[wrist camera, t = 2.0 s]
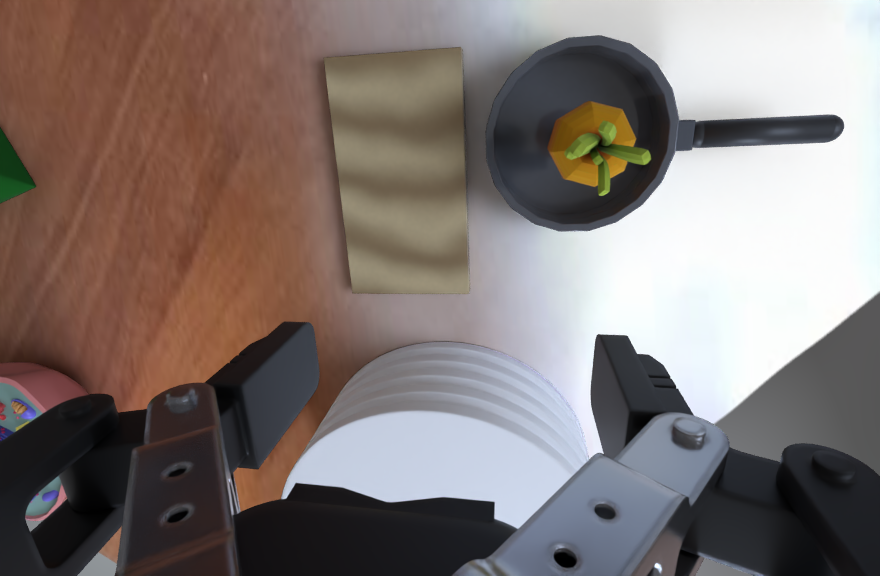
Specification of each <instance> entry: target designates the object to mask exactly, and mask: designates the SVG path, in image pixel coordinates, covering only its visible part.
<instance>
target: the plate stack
mask: <svg viewBox="0 0 880 576" xmlns="http://www.w3.org/2000/svg"><path fill="white" fill-rule="evenodd" d="M588 460H589V455H588V451H587V446H586V442H585V438H584V434H583V431H582V428H581V426H580V423H579V421H578V419H577V417H576V415H575V413H574V411H573V410H572V408H571V407H570V405H569V404H568V402H567V401H566V400H565V398H564V397H563V396H562V395H561V393H560V392H559V391H558V390H557V389H556V388H555V387H554V386H553V385H552V384H551V383H550V382H549V381H548V380H547V379H545V378H544V377H543V376H542V375H540V374H539V373H538V372H536V371H535V370H534V369H532V368H531V367H529V366H527V365H526V364H524V363H522V362H521V361H519V360H517V359H515V358H513V357H510V356H508V355H506V354H503V353H501V352H498V351H495V350H492V349H489V348H486V347H482V346H477V345H473V344H467V343H459V342H428V343H421V344H415V345H410V346H406V347H402V348H399V349H396V350H393V351H391V352H388V353H386V354H384V355H382V356H380V357H378V358H376V359H374V360H373V361H371V362H370V363H368V364H367V365H365V366H364V367H363V368H361V369H360V370H359V371H358V372H357V373H356V374H355V375H354V376H353V377H352V378H351V379H350V380H349V381H348V382H347V384H346V385H345V386H344V388H343V389H342V390H341V392H340V394H339V395H338V397H337V398H336V400H335V402H334V403H333V405H332V406H331V408H330V410H329V411H328V413H327V414H326V416H325V418H324V419H323V421H322V422H321V424H320V425H319V427H318V429H317V430H316V432H315V434H314V435H313V437H312V438H311V440H310V441H309V443H308V445H307V446H306V448H305V450H304V451H303V453H302V454H301V456H300V457H299V459H298V461H297V462H296V464H295V465H294V467H293V469H292V470H291V472H290V474H289V476H288V478H287V481H286V483H285V486H284V489H283V493H282V497H281V499H286V498H287V496H288V495H289V493H290V491H291V490H292V488H293V487H294V485H295V483H302V484H313V485H323V486H334V487H343V488H346V489H349V490H352V491H355V492H358V493H361V494H364V495H367V496H370V497H373V498H376V499H379V500H382V501H385V502H400V501H410V500H419V499H429V498H438V497H449V498H460V499H470V500H481V501H491V502H495V516H494V519H496V520H499V521H502V522H505V523H507V524H509V525H511V526H513V527H515V528H517V529H519V528H520V527H521V526H522V525H523V524H524V523H525V522H526V521H527V520H528V519H529V518H530V517H531V516H532V515H533V514H534V513H535V512H536V511H537V510H538V509H539V508H540V507H541V506H542V505H543V504H544V503H545V502H546V501H547V500H548V499H549V498H550V497H551V496H552V495H553V494H554V493H555V492H557V491H558V490H559V489H560V488H561V487H562V486H563V485H564V484H565V483H566V482H567V481H568V480H569V479H570V478H571V477H572V476H573V475H574V474H575V473H576V472H577V471H578V470H579V469H580V468H581V467H582V466H583V465H584V464H585V463H586V462H587V461H588Z"/></svg>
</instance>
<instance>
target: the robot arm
mask: <svg viewBox="0 0 880 576" xmlns="http://www.w3.org/2000/svg"><path fill="white" fill-rule="evenodd" d="M318 382H319V363H318V356H317V348H316V341H315V333H314V328H313V326H312V324H311V323H309V322H283V323H282V324H280V325H279V326H278V327H277V328H276V329H275V330H273V331H272V332H271V333H270V334H269V335H268V336H267V337H264V338H262V339H260V340H258V341H256V342H254V343H252V344H250V345H249V346H247V347H246V348H245V349H244V350H243V351H241V352H240V353H239V356H236V357H234V358H233V359H232V360H231V361H230V363H227V364H226V365H225V366H224V367H223V368H221V369H220V370H219V371H218V372H217V373H215V374H214V375H213V376H212V377H211V378H210V379H208V380H207V381H206V382H205V383H189V384H184V385H179V386H176V387H173V388H170V389H168V390H166V391H164V392H162V393H160V394H159V395H157V396H156V397H154V398H153V399H152V400H151V401H150V402H149V404H148V407H147V409H144V410H136V411H128V412H120V413H118V412H117V409H116V406H115V402H114V399H113V397H112V396H110V395H107V394H90V395H84V396H80V397H76V398H73V399H70V400H67V401H65V402H62V403H60V404H58V405H56V406H54V407H52V408H51V409H49V410H47V411H46V412H44V413H43V414H41V415H40V416H38V417H37V418H35V419H34V420H32V421H31V422H29V423H28V424H26V425H25V426H23V427H22V428H20V429H19V430H17V431H16V432H14V433H13V434H11V435H10V436H8V437H7V438H5V439H4V440H2V441H1V442H0V576H77V575H78V574H79V573H80V572H81V571H82V570H83V569H84V567H85V566H86V565H87V564H88V563H89V562H90V561H91V560H92V558H93V557H94V556H95V555H96V554H97V553H98V552H99V551H100V550H101V548H102V547H103V546H104V545H105V544H106V543H107V542H108V541H109V540H110V538H111V537H112V536H113V535H114V534H115V533H116V532H117V531H118V529H119V528H120V527H121V526H122V530H121V538H120V545H119V553H118V560H117V568H116V573H115V576H695V575H696V573H697V571H698V570H699V568H700V566H701V564H702V562H703V560H704V558H707V559H709V560H713V561H715V562H718V563H721V564H723V565H726V566H729V567H732V568H734V569H737V570H740V571H743V572H746V573H748V574H751V575H753V576H880V476H879V475H878V474H877V473H875V471H874V470H872V469H871V468H870V467H868V466H867V465H865V464H864V463H863V462H861V461H859V460H858V459H856V458H854V457H852V456H850V455H848V454H845V453H843V452H840V451H838V450H835V449H831V448H828V447H825V446H820V445H815V444H805V443H801V444H793V445H790V446H788V447H786V448H785V449H784V451H783V453H782V456H781V460H780V462H778V461H774V460H770V459H766V458H762V457H759V456H754V455H751V454H747V453H744V452H740V451H738V450H735V449H732V448H730V445H729V439H728V438H727V436H726V435H725V434H724V433H723V431H722V430H721V429H719V428H718V427H717V426H715V425H714V424H712V423H710V422H709V421H707V420H704V419H702V418H699V417H696V416H694V415H693V413H692V411H691V410H690V408H689V407H688V405H687V403H686V402H685V400H684V398H683V397H682V395H681V393H680V392H679V390H678V389H676V385H675V384H674V382H673V380H672V379H670V375H669V374H668V372H667V370H666V369H665V367H664V365H662V364H661V363H660V362H658V361H657V360H655V359H654V358H653V357H651V356H650V355H645V354H637V353H636V351H635V349H634V347H633V345H632V344H631V342H630V340H629V338H628V336H625V335H600V334H598V335H597V337H596V341H595V349H594V359H593V370H592V380H591V406H592V411H593V415H594V419H595V423H596V426H597V430H598V434H599V437H600V441H601V445H602V449H603V452H604V454H602V453H597V454H595V455H594V456H593V457H591V458H590V459H589V460H588V461H587V462H586V463H585V464H584V465H583V466H582V467H581V468H580V469H579V470H578V471H577V472H576V473H575V474H574V475H573V476H572V477H571V478H570V479H569V480H568V481H567V482H566V483H565V484H564V485H563V486H562V487H561V488H560V489H559V490H558V491H557V492H555V493H554V494H553V495H552V496H551V497H550V498H549V499H548V500H547V501H546V502H545V503H544V504H543V505H542V506H541V507H540V508H539V509H538V510H537V511H536V512H535V513H534V514H533V515H532V516H531V517H530V518H529V519H528V520H527V521H526V522H525V523H524V524H523V525H522V526H521V527H520V528H519V529H517V528H515V527H513V526H511V525H509V524H507V523H505V522H502V521H499V520H496V519H494V516H495V502H491V501H481V500H470V499H460V498H449V497H438V498H429V499H419V500H410V501H400V502H385V501H382V500H379V499H376V498H373V497H370V496H367V495H364V494H361V493H358V492H355V491H352V490H349V489H346V488H343V487H334V486H323V485H313V484H302V483H295V485H294V487H293V488H292V490H291V491H290V493H289V495H288V496H287V498H286V499H280V500H275V501H270V502H266V503H263V504H260V505H257V506H254V507H251V508H249V509H246V510H244V511H242V512H240V507H239V501H238V495H237V489H236V483H235V479H234V474H233V472H234V471H235V470H236V469H237V467H239V468H249V469H259V467H260V466H261V465H262V463H263V462H264V460H265V459H266V458H267V456H268V455H269V454H270V452H271V451H272V450H273V448H274V447H275V446H276V444H277V443H278V441H279V440H280V439H281V437H282V436H283V435H284V433H285V432H286V431H287V429H288V428H289V426H290V425H291V424H292V422H293V421H294V420H295V418H296V417H297V416H298V414H299V413H300V412H301V410H302V409H303V407H304V406H305V405H306V403H307V402H308V401H309V399H310V398H311V397H312V395H313V394H314V392H315V391H316V389H317V386H318ZM58 476H59V478H60V480H61V483H62V486H63V488H64V491H65V494H66V496H67V500H65V501H64V502H63V503H62V504H61V505H60V506H59V507H58V508H57V509H56V510H54V511H53V512H52V513H51V514H50V515H49V516H48V517H47V518H46V519H44V520H43V521H42V522H41V523H40V524H39V525H38V526H37V527H36V528H35V529H33V530H32V531H31V532H30V531H29V528H28V526H27V524H26V519H25V516H26V510H27V508H28V505H29V503H30V502H31V500H32V499H33V498H34V496H35V495H36V494H37V493H38V492H40V491H41V490H42V489H43V488H44V487H46V486H47V485H48V484H49V483H50V482H52V481H53V480H54V479H55V478H56V477H58Z"/></svg>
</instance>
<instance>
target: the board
mask: <svg viewBox="0 0 880 576" xmlns="http://www.w3.org/2000/svg"><path fill="white" fill-rule="evenodd" d="M324 65H325V73H326V82H327V90H328V98H329V106H330V114H331V122H332V130H333V139H334V147H335V155H336V163H337V171H338V179H339V187H340V196H341V204H342V212H343V220H344V228H345V236H346V244H347V253H348V261H349V269H350V277H351V285H352V293H370V294H469V292H470V269H469V236H468V203H467V170H466V136H465V103H464V70H463V49H462V48H461V47H455V48H442V49H429V50H417V51H404V52H391V53H378V54H366V55H353V56H340V57H328V58H324Z"/></svg>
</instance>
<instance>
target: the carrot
mask: <svg viewBox="0 0 880 576" xmlns="http://www.w3.org/2000/svg"><path fill="white" fill-rule="evenodd" d="M635 141H636V137H635V135H634V133H633V131H632V129H631V126H630V124H629V122H628V120H627V118H626V116H625V114H624V112H623V109H620V108H616V107H612V106H608V105H604V104H600V103H596V102H592V101H588V102H585V103H583V104H582V105H580V106H578V107H577V108H575V109H573V110H572V111H570V112H568V113H567V114H565V115H564V116H562V117H560V118H559V119H557V120H556V121H555V124H554V127H553V131H552V134H551V137H550V140H549V143H548V147H547V148H548V151H549V153H550V155H551V157H552V159H553V160H554V162H555V164H556V166H557V168H558V170H559V172H560V174H561V176H562V177H563V179H566V180H570V181H574V182H577V183H581V184H585V185H589V186H593V187H595V186H597V185H598V195H599V196H604V195H606V194H607V193H608V192H609V191H610V178H612V177H614V176H615V175H617V174H619V173H621V172H623V171H624V170H625V167H626V165H627V162H632V163H635V164H641V165H645V164H647V163H648V162H649V161H650V160H651V155H650V153H649V151H648V150H646V149H643V148H637V147H633V146H634V143H635Z"/></svg>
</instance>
